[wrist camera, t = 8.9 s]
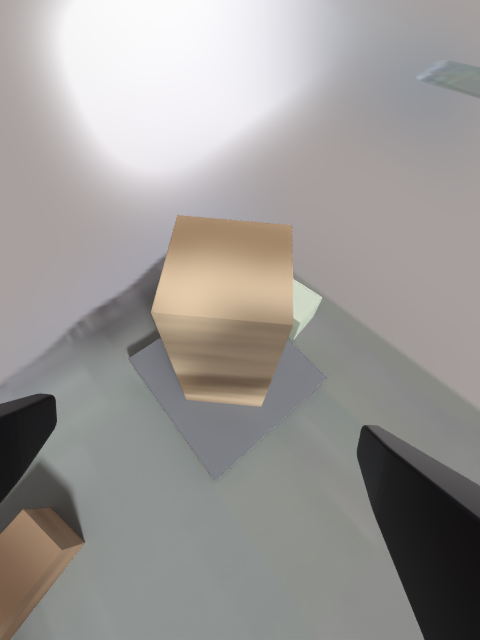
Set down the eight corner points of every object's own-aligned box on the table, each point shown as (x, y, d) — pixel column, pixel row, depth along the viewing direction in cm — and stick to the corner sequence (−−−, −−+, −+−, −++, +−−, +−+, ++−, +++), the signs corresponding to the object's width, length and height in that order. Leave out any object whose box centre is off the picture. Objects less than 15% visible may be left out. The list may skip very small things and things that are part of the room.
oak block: (261, 406, 20) (293, 325, 10) (186, 399, 20) (151, 312, 10) (264, 339, 22) (292, 225, 13) (197, 333, 22) (177, 215, 13)
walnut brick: (-11, 667, 15) (-62, 704, 12) (-46, 620, 15) (-101, 645, 13) (86, 542, 17) (61, 550, 15) (52, 507, 18) (23, 509, 15)
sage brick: (312, 317, 26) (322, 297, 23) (292, 341, 24) (300, 323, 22) (257, 280, 27) (261, 258, 25) (236, 300, 26) (237, 279, 24)
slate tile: (215, 482, 19) (214, 481, 18) (133, 366, 23) (128, 358, 21) (321, 384, 22) (327, 377, 21) (235, 298, 26) (236, 287, 25)
